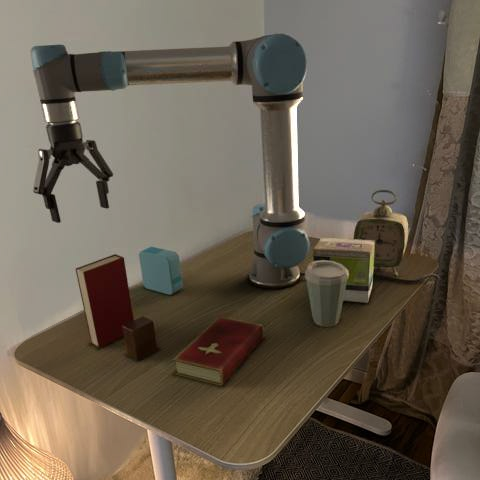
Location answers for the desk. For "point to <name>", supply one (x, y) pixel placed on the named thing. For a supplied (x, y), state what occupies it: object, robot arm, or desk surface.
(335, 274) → the disposable coffee cup
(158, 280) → the data package
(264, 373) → the desk surface
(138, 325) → the walnut box
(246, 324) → the hardcover book
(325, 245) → the tea box
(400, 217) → the tabletop clock
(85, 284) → the book
